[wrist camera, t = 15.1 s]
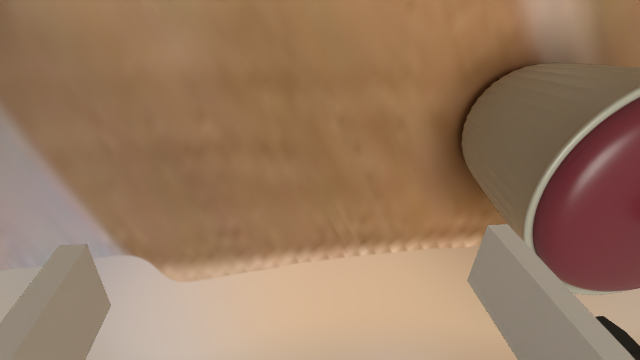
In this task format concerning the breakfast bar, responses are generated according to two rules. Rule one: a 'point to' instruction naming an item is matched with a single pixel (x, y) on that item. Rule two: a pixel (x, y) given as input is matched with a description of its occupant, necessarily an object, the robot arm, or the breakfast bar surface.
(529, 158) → the canister
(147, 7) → the breakfast bar surface
